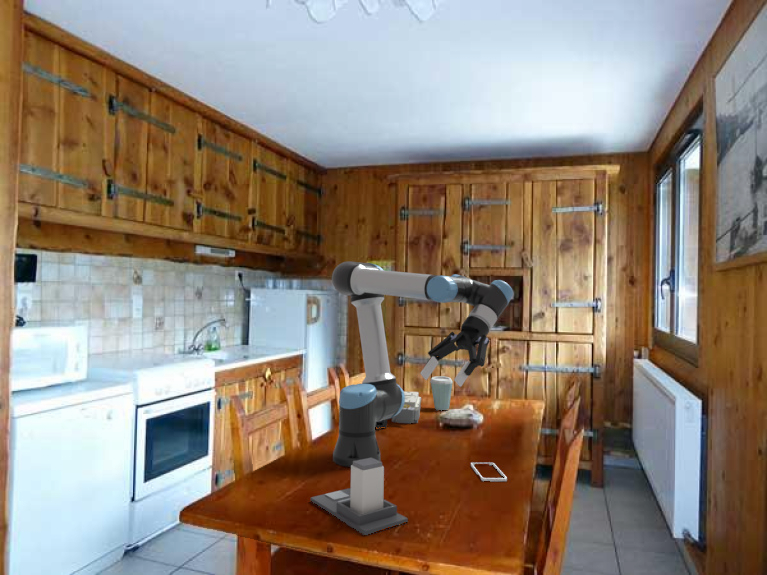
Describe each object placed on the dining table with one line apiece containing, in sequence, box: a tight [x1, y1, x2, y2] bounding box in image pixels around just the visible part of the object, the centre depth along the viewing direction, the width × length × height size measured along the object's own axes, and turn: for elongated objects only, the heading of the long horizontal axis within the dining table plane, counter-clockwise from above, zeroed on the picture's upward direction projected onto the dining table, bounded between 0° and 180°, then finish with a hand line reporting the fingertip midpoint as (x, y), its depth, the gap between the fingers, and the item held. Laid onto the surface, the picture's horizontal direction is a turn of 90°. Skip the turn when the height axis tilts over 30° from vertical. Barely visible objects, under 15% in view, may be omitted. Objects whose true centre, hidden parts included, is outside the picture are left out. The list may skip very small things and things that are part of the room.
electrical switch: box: [375, 419, 388, 429], centre depth 212 cm, size 9×5×9 cm, turn 113°
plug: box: [350, 458, 385, 514], centre depth 127 cm, size 5×6×12 cm
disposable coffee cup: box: [429, 375, 454, 412], centre depth 251 cm, size 11×11×15 cm
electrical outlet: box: [391, 390, 422, 424], centre depth 231 cm, size 12×28×10 cm, turn 172°
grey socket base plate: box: [310, 487, 409, 536], centre depth 130 cm, size 24×12×3 cm, turn 37°
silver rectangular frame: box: [470, 462, 508, 482], centre depth 160 cm, size 7×1×15 cm
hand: (439, 379), depth 146 cm, fingers open, 13 cm apart
